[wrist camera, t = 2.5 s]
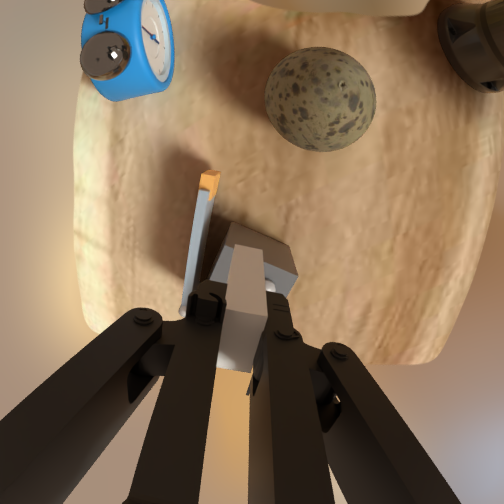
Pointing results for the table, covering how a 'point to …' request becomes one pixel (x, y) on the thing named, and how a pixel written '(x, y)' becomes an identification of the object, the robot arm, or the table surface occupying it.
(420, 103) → the table surface
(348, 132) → the decorative egg
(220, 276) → the camera body
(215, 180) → the side door
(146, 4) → the alarm clock
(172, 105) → the table surface
